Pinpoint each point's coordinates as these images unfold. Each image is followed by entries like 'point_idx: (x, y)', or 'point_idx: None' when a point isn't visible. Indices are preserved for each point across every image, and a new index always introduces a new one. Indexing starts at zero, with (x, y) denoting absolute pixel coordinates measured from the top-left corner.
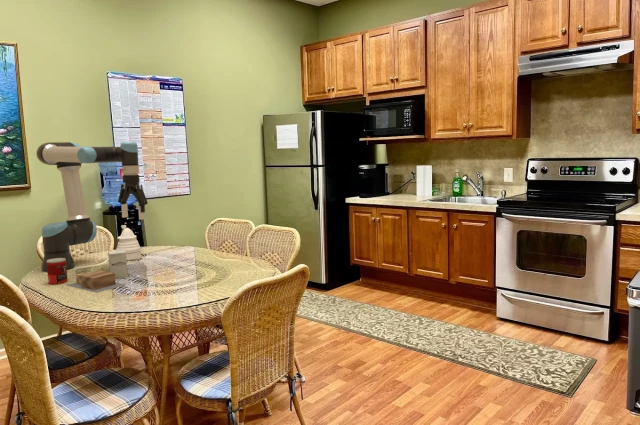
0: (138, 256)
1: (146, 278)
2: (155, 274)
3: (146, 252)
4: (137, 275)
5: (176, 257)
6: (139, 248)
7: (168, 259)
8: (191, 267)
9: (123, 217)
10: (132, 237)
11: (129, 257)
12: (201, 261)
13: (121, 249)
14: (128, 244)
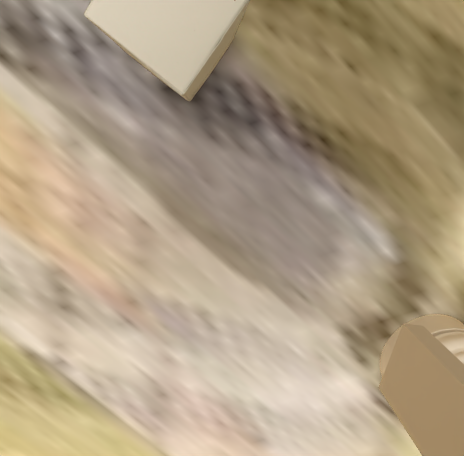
0: (382, 366)
1: (36, 86)
2: (64, 165)
3: None
4: (131, 119)
5: (228, 418)
6: None
7: (234, 385)
8: (19, 320)
9: (401, 328)
10: None
11: None
12: (70, 407)
13: (457, 345)
14: None
